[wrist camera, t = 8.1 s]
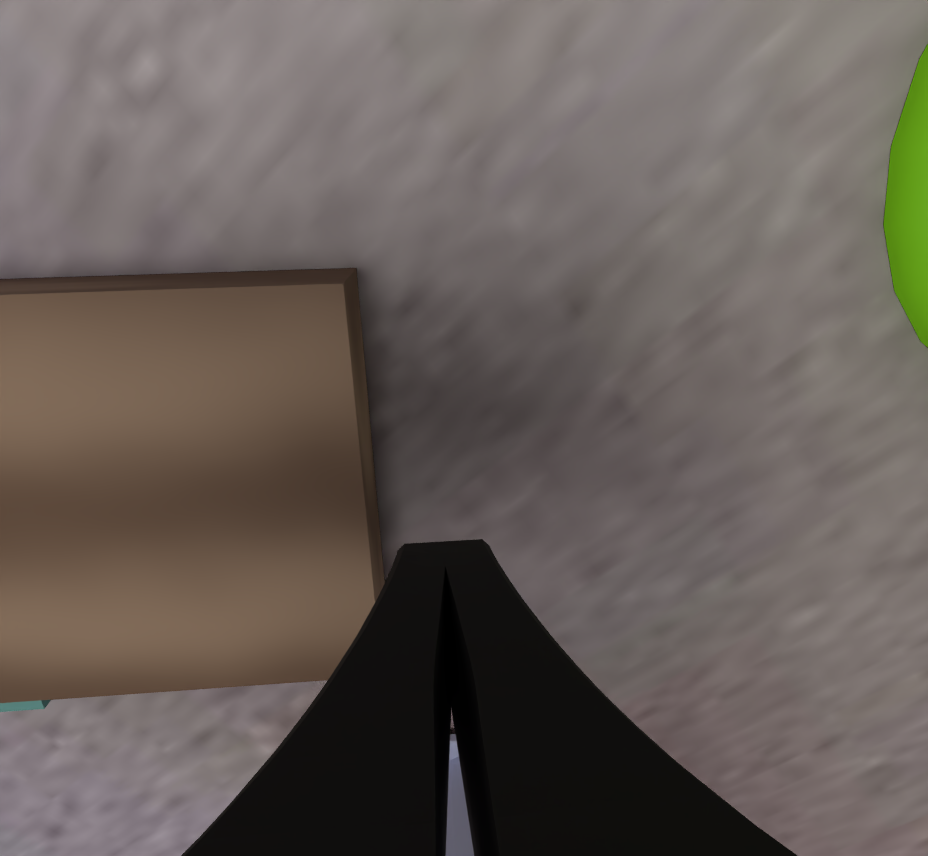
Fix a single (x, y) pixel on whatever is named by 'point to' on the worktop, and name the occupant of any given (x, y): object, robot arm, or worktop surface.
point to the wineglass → (910, 204)
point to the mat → (23, 705)
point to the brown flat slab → (182, 481)
